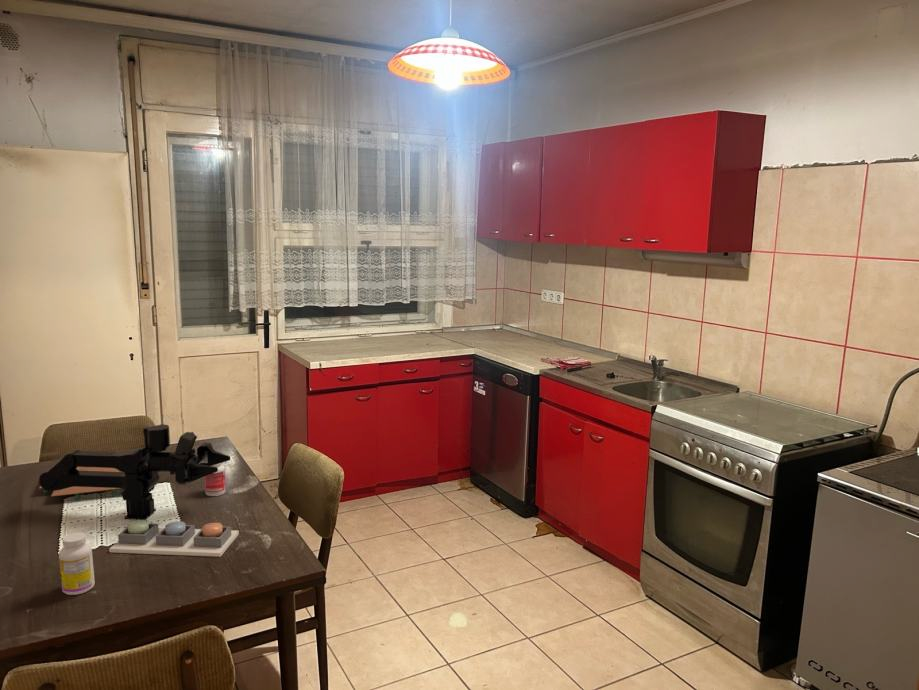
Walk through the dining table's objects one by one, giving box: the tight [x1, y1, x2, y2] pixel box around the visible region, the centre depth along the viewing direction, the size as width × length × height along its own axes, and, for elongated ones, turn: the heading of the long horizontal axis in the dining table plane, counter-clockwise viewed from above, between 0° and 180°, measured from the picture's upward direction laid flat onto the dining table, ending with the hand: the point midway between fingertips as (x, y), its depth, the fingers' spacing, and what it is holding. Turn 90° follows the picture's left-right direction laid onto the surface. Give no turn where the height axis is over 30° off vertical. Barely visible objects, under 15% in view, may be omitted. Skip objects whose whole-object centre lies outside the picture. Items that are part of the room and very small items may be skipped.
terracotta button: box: [201, 522, 223, 537], centre depth 180 cm, size 5×5×2 cm
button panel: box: [108, 523, 240, 558], centre depth 181 cm, size 29×13×4 cm, turn 88°
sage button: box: [127, 519, 149, 534], centre depth 181 cm, size 5×5×2 cm
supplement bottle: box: [58, 532, 96, 596], centre depth 157 cm, size 7×7×13 cm
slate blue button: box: [164, 520, 186, 536], centre depth 180 cm, size 5×5×2 cm
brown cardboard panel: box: [39, 467, 123, 502], centre depth 218 cm, size 23×33×8 cm
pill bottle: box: [203, 462, 227, 497], centre depth 214 cm, size 6×6×11 cm
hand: (223, 463), depth 194 cm, fingers open, 9 cm apart
